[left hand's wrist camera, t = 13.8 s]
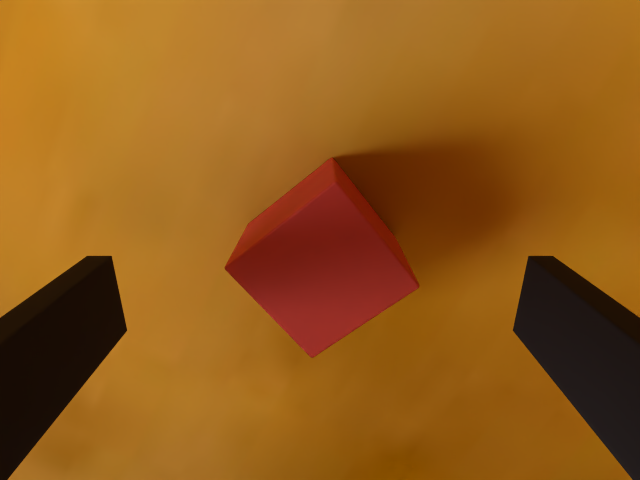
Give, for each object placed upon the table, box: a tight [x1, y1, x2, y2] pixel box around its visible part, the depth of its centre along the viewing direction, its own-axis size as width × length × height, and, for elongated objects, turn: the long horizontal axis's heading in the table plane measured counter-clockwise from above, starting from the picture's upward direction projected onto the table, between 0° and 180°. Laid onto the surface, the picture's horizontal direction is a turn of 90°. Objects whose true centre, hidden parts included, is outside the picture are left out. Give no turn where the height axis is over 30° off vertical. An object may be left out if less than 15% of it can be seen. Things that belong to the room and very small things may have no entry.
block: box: [225, 158, 419, 358], centre depth 16 cm, size 5×5×5 cm
